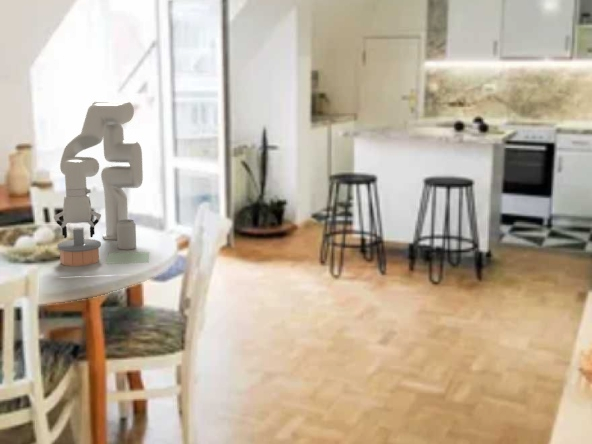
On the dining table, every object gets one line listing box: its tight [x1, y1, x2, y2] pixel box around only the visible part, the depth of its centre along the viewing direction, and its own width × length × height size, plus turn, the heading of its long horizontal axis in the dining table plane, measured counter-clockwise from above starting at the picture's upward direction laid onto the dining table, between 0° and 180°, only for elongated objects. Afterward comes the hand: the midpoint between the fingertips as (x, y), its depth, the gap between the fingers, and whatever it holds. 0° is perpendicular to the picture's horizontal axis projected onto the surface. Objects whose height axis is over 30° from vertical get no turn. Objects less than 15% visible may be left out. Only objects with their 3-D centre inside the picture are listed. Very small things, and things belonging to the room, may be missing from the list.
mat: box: [105, 251, 150, 265], centre depth 286 cm, size 16×16×1 cm
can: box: [116, 218, 137, 251], centre depth 300 cm, size 8×8×12 cm
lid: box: [56, 227, 102, 252], centre depth 279 cm, size 16×16×7 cm
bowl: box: [59, 247, 100, 267], centre depth 280 cm, size 14×14×6 cm
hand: (78, 236), depth 279 cm, fingers open, 9 cm apart
